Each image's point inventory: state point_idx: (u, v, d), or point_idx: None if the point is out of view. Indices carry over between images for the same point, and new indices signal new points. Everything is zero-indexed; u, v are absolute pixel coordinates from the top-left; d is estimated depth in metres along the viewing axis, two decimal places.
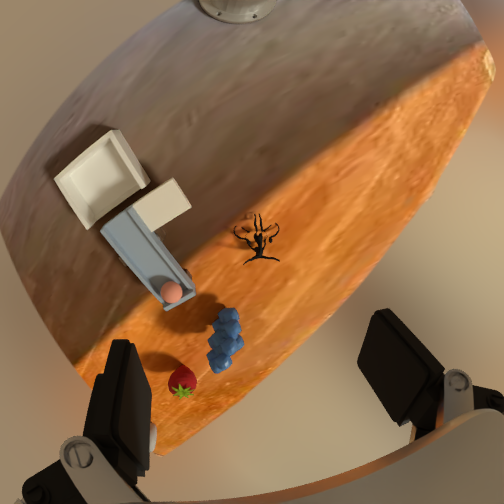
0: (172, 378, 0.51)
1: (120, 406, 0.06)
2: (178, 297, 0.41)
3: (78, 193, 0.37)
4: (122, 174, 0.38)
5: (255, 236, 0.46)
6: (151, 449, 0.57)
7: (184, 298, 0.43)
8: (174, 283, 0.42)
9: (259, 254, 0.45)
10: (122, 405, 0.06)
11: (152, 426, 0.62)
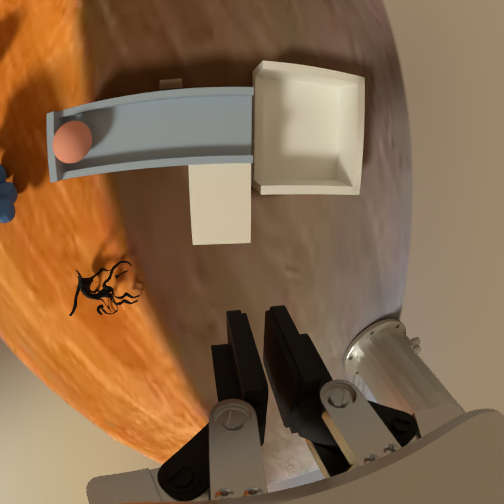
0: None
1: (261, 364, 0.08)
2: (58, 155, 0.16)
3: (310, 81, 0.23)
4: (287, 155, 0.26)
5: (109, 290, 0.27)
6: None
7: (52, 159, 0.17)
8: (84, 156, 0.18)
9: (84, 292, 0.25)
10: (260, 363, 0.08)
11: None
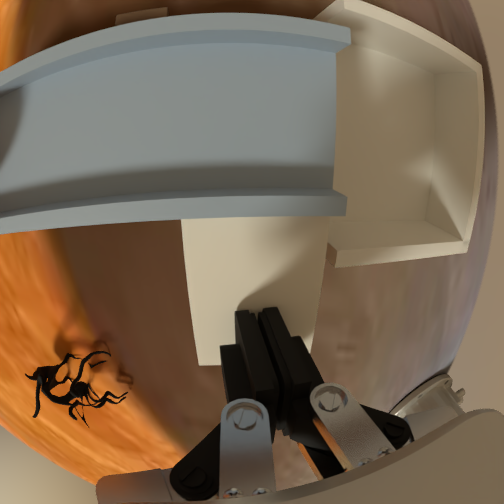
0: None
1: (271, 363, 0.08)
2: None
3: (402, 56, 0.11)
4: (365, 181, 0.14)
5: (82, 388, 0.15)
6: None
7: None
8: None
9: (46, 394, 0.13)
10: (271, 363, 0.08)
11: None
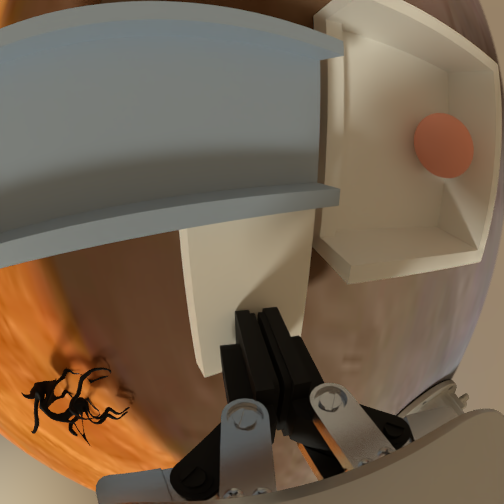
0: None
1: (271, 363, 0.08)
2: (467, 167, 0.10)
3: (416, 51, 0.09)
4: (377, 185, 0.13)
5: (82, 404, 0.14)
6: None
7: None
8: None
9: (44, 411, 0.12)
10: (271, 363, 0.08)
11: None
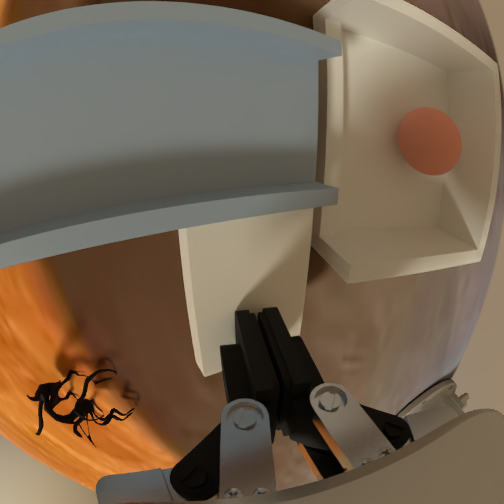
0: None
1: (271, 363, 0.08)
2: (454, 163, 0.10)
3: (415, 51, 0.09)
4: (377, 185, 0.13)
5: (87, 406, 0.14)
6: None
7: None
8: None
9: (49, 413, 0.12)
10: (271, 363, 0.08)
11: None
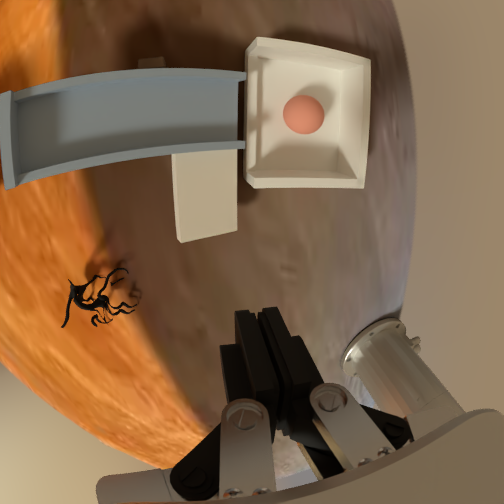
0: None
1: (271, 363, 0.08)
2: (305, 123, 0.20)
3: (310, 62, 0.20)
4: (283, 144, 0.23)
5: (104, 299, 0.24)
6: None
7: (7, 157, 0.10)
8: None
9: (77, 302, 0.22)
10: (271, 363, 0.08)
11: None
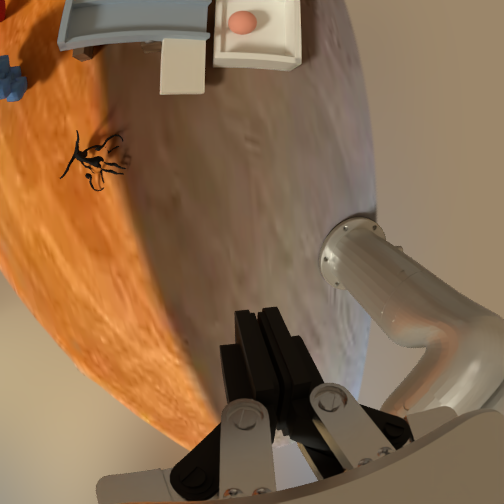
0: (0, 0, 0.09)
1: (271, 363, 0.08)
2: (232, 25, 0.24)
3: None
4: (242, 45, 0.27)
5: (100, 158, 0.28)
6: None
7: (64, 26, 0.14)
8: (250, 30, 0.25)
9: (78, 155, 0.26)
10: (271, 363, 0.08)
11: None
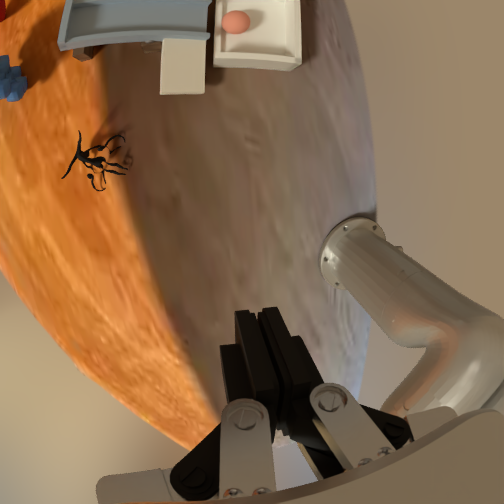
0: (0, 0, 0.09)
1: (271, 363, 0.08)
2: (223, 27, 0.24)
3: None
4: (242, 45, 0.27)
5: (102, 159, 0.29)
6: None
7: (64, 26, 0.14)
8: (241, 28, 0.24)
9: (80, 155, 0.26)
10: (271, 363, 0.08)
11: None
